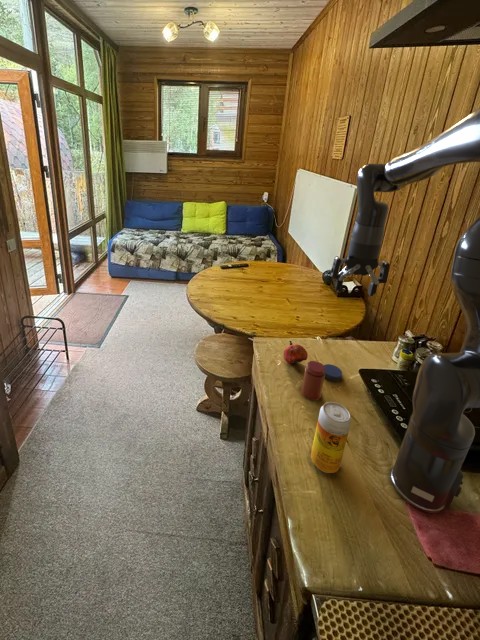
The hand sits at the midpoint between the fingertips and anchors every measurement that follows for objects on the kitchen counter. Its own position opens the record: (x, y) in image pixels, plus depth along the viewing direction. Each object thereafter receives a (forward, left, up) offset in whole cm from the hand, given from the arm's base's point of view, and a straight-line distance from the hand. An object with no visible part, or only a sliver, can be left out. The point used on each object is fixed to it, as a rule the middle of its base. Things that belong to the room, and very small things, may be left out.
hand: (354, 293), depth 89 cm
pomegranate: (+13, -1, -28) cm, 31 cm away
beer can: (+10, +33, -28) cm, 45 cm away
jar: (+10, +12, -28) cm, 32 cm away
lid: (+2, +2, -27) cm, 27 cm away
